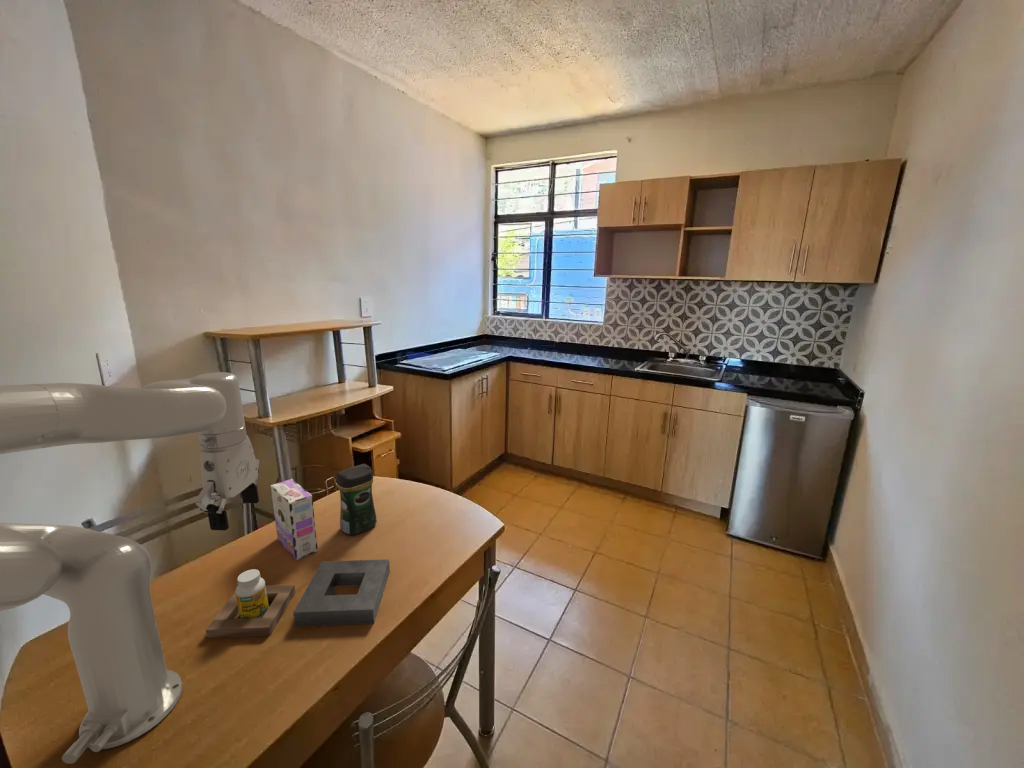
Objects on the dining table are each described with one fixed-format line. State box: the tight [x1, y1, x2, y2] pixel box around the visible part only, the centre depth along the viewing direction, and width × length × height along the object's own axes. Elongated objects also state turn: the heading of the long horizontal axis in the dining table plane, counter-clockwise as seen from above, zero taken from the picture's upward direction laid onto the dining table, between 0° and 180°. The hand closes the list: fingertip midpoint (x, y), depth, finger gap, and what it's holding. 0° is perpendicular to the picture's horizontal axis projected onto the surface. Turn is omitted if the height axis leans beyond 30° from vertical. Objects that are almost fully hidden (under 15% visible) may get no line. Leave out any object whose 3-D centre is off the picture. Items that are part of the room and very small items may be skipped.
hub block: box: [292, 558, 391, 628], centre depth 94 cm, size 16×16×4 cm
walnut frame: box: [205, 584, 296, 639], centre depth 89 cm, size 12×12×2 cm
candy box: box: [270, 478, 319, 561], centre depth 110 cm, size 14×6×16 cm, turn 47°
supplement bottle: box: [234, 568, 270, 619], centre depth 88 cm, size 5×5×10 cm
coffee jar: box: [336, 463, 378, 536], centre depth 119 cm, size 10×8×19 cm
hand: (236, 515), depth 84 cm, fingers open, 9 cm apart
